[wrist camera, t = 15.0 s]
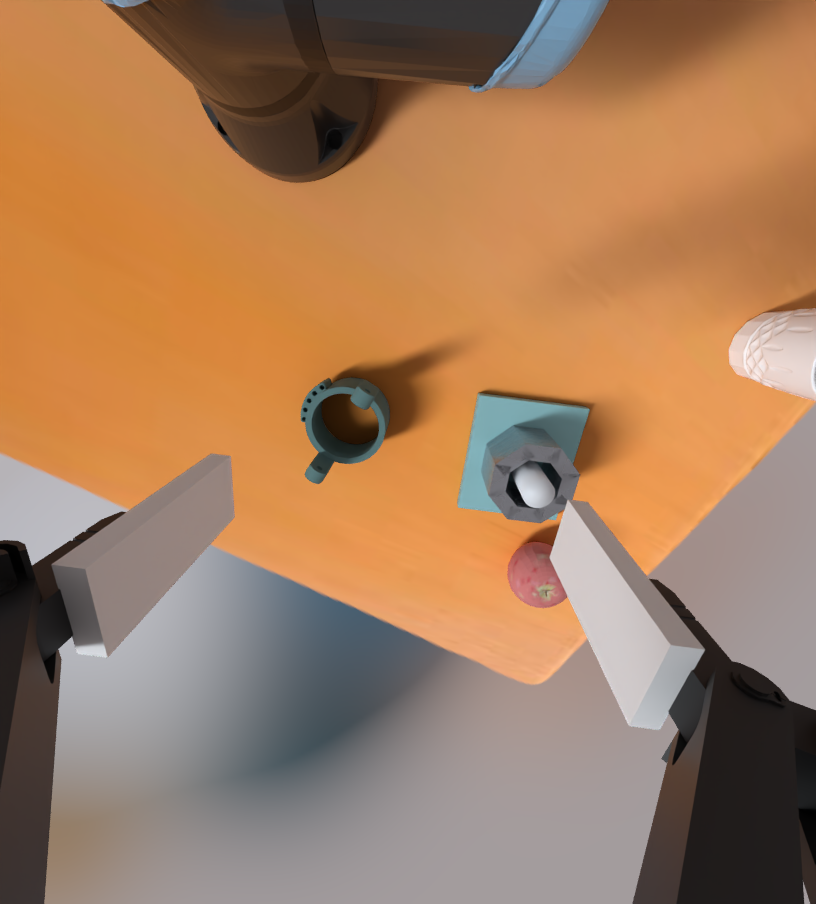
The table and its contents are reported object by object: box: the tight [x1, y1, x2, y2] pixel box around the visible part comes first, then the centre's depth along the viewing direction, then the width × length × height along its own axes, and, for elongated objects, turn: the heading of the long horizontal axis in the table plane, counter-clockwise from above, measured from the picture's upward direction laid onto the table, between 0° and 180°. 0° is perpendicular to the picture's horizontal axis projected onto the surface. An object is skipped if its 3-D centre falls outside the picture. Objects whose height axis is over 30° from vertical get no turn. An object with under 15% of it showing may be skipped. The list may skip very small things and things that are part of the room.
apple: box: [508, 542, 567, 608], centre depth 46 cm, size 7×7×8 cm
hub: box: [481, 426, 580, 523], centre depth 40 cm, size 8×8×6 cm
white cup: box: [729, 308, 816, 401], centre depth 34 cm, size 8×8×10 cm
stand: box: [457, 393, 590, 520], centre depth 40 cm, size 14×12×9 cm
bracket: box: [301, 377, 390, 484], centre depth 39 cm, size 9×9×9 cm
